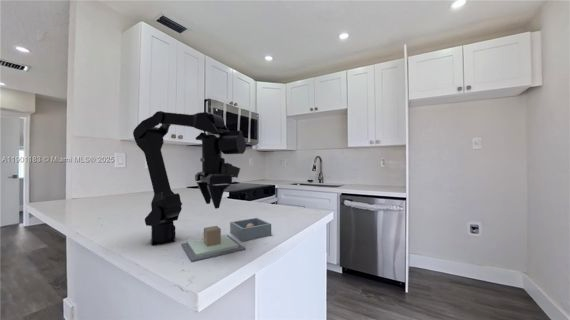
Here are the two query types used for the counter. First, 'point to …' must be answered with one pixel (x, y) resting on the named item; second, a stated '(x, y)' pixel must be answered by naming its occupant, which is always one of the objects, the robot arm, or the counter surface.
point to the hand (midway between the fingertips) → (212, 205)
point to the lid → (211, 242)
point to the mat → (194, 258)
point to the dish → (250, 229)
